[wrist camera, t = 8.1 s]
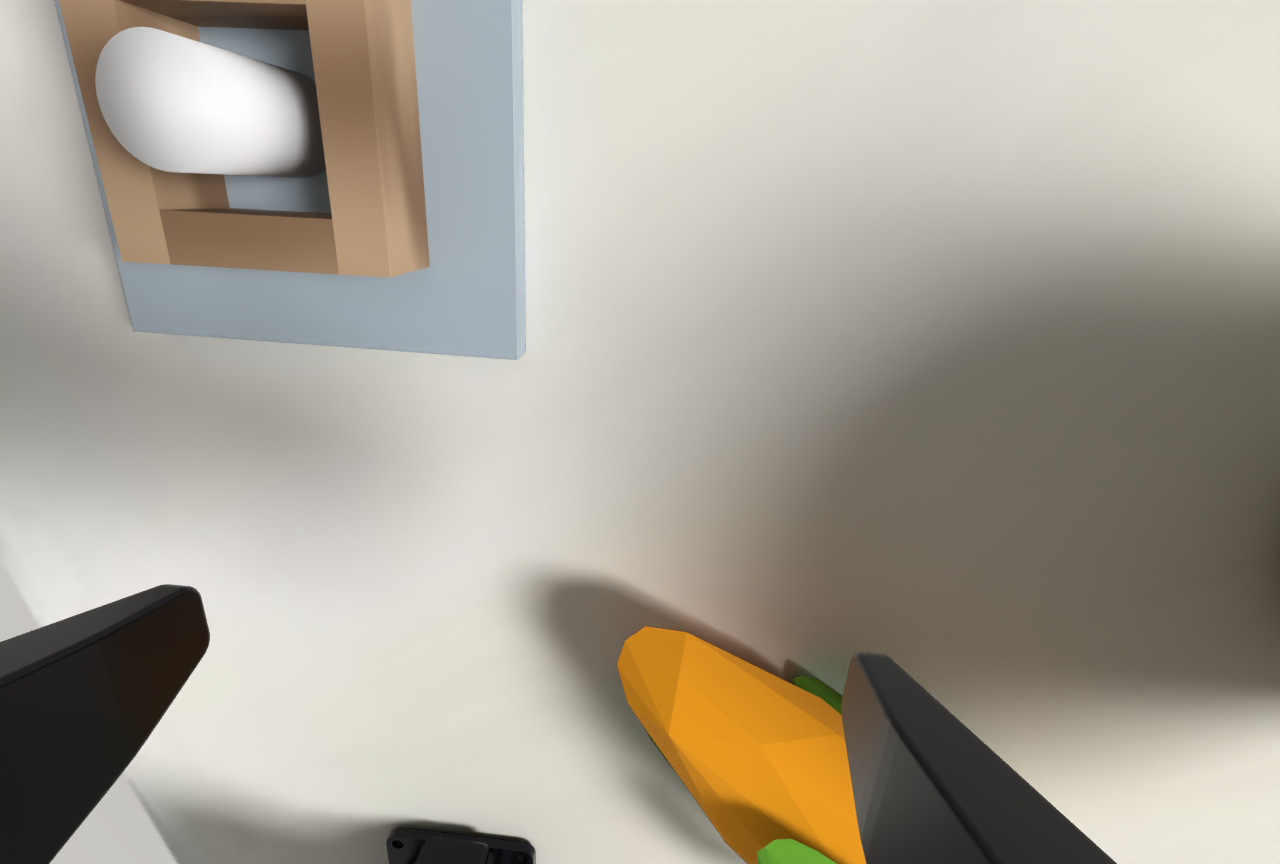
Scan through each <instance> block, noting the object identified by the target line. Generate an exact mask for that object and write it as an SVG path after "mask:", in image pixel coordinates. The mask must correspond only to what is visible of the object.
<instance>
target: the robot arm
mask: <svg viewBox="0 0 1280 864" xmlns="http://www.w3.org/2000/svg"><path fill="white" fill-rule="evenodd" d="M209 641H210V632H209V628H208V624H207V620H206V615H205V611H204V607H203V603H202V598H201V595H200V593H199V592H198V591H197V590H196V589H195V588H193V587H190V586H181V585H170V584H166V585H160V586H157V587H154V588H151V589H148V590H146V591H143V592H140V593H137V594H134V595H132V596H129V597H126V598H123V599H120V600H118V601H115V602H112V603H109V604H106V605H103V606H101V607H98V608H95V609H92V610H89V611H87V612H84V613H81V614H78V615H75V616H72V617H70V618H67V619H64V620H61V621H58V622H56V623H53V624H50V625H47V626H44V627H41V628H39V629H36V630H33V631H30V632H28V633H25V634H22V635H19V636H16V637H13V638H11V639H8V640H5V641H2V642H0V864H49V863H50V862H51V861H52V860H53V859H54V857H55V856H56V855H57V853H58V852H59V851H60V850H61V849H62V847H63V846H64V845H65V843H66V842H67V841H68V840H69V839H70V837H71V836H72V835H73V834H74V832H75V831H76V830H77V829H78V827H79V826H80V825H81V824H82V822H83V821H84V820H85V819H86V817H87V816H88V815H89V814H90V812H91V811H92V810H93V809H94V808H95V806H96V805H97V804H98V803H99V801H100V800H101V799H102V798H103V796H104V795H105V794H106V793H107V791H108V790H109V789H110V788H111V786H112V785H113V784H114V783H115V781H116V780H117V779H118V778H119V776H120V775H121V774H122V773H123V771H124V770H125V769H126V767H127V766H128V765H129V764H130V762H131V761H132V760H133V758H134V757H135V756H136V754H137V753H138V751H139V750H140V749H141V747H142V746H143V744H144V743H145V742H146V740H147V739H148V737H149V736H150V734H151V733H152V731H153V730H154V728H155V727H156V725H157V724H158V722H159V721H160V720H161V718H162V717H163V715H164V714H165V712H166V711H167V709H168V708H169V706H170V705H171V703H172V702H173V700H174V699H175V697H176V696H177V694H178V693H179V691H180V690H181V688H182V687H183V686H184V684H185V683H186V681H187V680H188V678H189V677H190V675H191V674H192V672H193V671H194V669H195V668H196V666H197V665H198V663H199V662H200V660H201V659H202V657H203V656H204V654H205V653H206V650H207V648H208V645H209ZM842 723H843V730H844V736H845V743H846V750H847V756H848V763H849V769H850V776H851V783H852V789H853V796H854V803H855V809H856V816H857V822H858V828H859V834H860V840H861V844H862V848H863V852H864V857H865V861H866V864H1117V863H1116V862H1115V861H1113V860H1112V859H1111V858H1110V857H1109V856H1108V855H1107V854H1106V853H1105V852H1104V851H1102V850H1101V849H1100V848H1099V847H1098V846H1097V845H1096V844H1095V843H1094V842H1093V841H1091V840H1090V839H1089V838H1088V837H1087V836H1086V835H1085V834H1084V833H1083V832H1081V831H1080V830H1079V829H1078V828H1077V827H1076V826H1075V825H1074V824H1073V823H1072V822H1070V821H1069V820H1068V819H1067V818H1066V817H1065V816H1064V815H1063V814H1062V813H1061V812H1059V811H1058V810H1057V809H1056V808H1055V807H1054V806H1053V805H1052V804H1051V803H1050V802H1048V801H1047V800H1046V799H1045V798H1044V797H1043V796H1042V795H1041V794H1040V793H1039V792H1037V791H1036V790H1035V789H1034V788H1033V787H1032V786H1031V785H1030V784H1029V783H1027V782H1026V781H1025V780H1024V779H1023V778H1022V777H1021V776H1020V775H1019V774H1018V773H1016V772H1015V771H1014V770H1013V769H1012V768H1011V767H1010V766H1009V765H1008V764H1007V763H1005V762H1004V761H1003V760H1002V759H1001V758H1000V757H999V756H998V755H997V754H996V753H994V752H993V751H992V750H991V749H990V748H989V747H988V746H987V745H986V744H985V743H983V742H982V741H981V740H980V739H979V738H978V737H977V736H976V735H975V734H973V733H972V732H971V731H970V730H969V729H968V728H967V727H966V726H965V725H964V724H962V723H961V722H960V721H959V720H958V719H957V718H956V717H955V716H954V715H953V714H951V713H950V712H949V711H948V710H947V709H946V708H945V707H944V706H943V705H942V704H940V703H939V702H938V701H937V700H936V699H935V698H934V697H933V696H932V695H931V694H929V693H928V692H927V691H926V690H925V689H924V688H923V687H922V686H921V685H920V684H918V683H917V682H916V681H915V680H914V679H913V678H912V677H911V676H910V675H908V674H907V673H906V672H905V671H904V670H903V669H902V668H901V667H900V666H899V665H897V664H896V663H895V662H894V661H893V660H892V659H891V658H889V657H888V656H886V655H883V654H874V653H864V652H858V653H856V654H854V655H853V657H852V659H851V662H850V666H849V671H848V676H847V680H846V685H845V689H844V694H843V699H842ZM387 850H388V858H389V864H536V852H535V849H534V847H533V846H532V845H530V844H528V843H523V842H515V841H507V840H498V839H490V838H482V837H473V836H465V835H457V834H448V833H440V832H432V831H423V830H415V829H407V828H395V829H393V830H392V831H391V833H390V835H389V837H388V839H387Z"/></svg>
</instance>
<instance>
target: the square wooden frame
mask: <svg viewBox="0 0 1280 864" xmlns="http://www.w3.org/2000/svg"><path fill="white" fill-rule="evenodd" d="M59 4H60V8H61V12H62V16H63V20H64V25H65V29H66V33H67V37H68V41H69V45H70V49H71V53H72V57H73V62H74V66H75V70H76V74H77V78H78V82H79V86H80V90H81V94H82V99H83V103H84V107H85V111H86V115H87V119H88V123H89V127H90V131H91V136H92V140H93V144H94V148H95V152H96V156H97V160H98V164H99V169H100V173H101V177H102V181H103V185H104V189H105V193H106V197H107V201H108V206H109V210H110V214H111V218H112V222H113V226H114V230H115V234H116V238H117V243H118V247H119V251H120V255H121V259H122V262H138V263H155V264H171V265H188V266H204V267H221V268H238V269H254V270H271V271H288V272H304V273H321V274H338V275H354V276H371V277H388V278H390V277H394V276H398V275H401V274H405V273H409V272H412V271H416V270H420V269H424V268H427V267H430V261H429V247H428V234H427V220H426V206H425V192H424V178H423V164H422V150H421V136H420V122H419V108H418V94H417V80H416V66H415V52H414V38H413V24H412V10H411V0H59ZM133 27H150V28H155V29H158V30H162V31H165V32H168V33H172V34H175V35H178V36H181V37H185V38H188V39H191V40H194V41H198V42H200V38H199V32H198V27H225V28H253V29H280V30H308V31H309V34H310V42H311V50H312V59H313V67H314V75H315V83H316V91H317V99H318V107H319V115H320V124H321V132H322V140H323V148H324V156H325V164H326V172H327V180H328V189H329V197H330V205H331V213H314V212H295V211H277V210H258V209H240V208H230V207H229V201H228V195H227V190H226V184H225V179H224V174H203V173H180V172H167V171H162V170H159V169H156V168H153V167H151V166H148V165H147V164H145V163H143V162H141V161H140V160H138V159H137V158H136V157H134V156H133V155H132V154H131V153H129V152H128V151H127V150H126V149H125V148H124V147H123V146H122V145H121V144H120V142H119V141H118V140H117V139H116V137H115V136H114V135H113V133H112V132H111V130H110V128H109V127H108V125H107V123H106V121H105V119H104V117H103V114H102V112H101V109H100V106H99V102H98V99H97V93H96V84H95V76H96V67H97V62H98V59H99V56H100V54H101V52H102V50H103V48H104V46H105V45H106V44H107V42H108V41H109V40H110V39H111V38H112V37H113V36H115V35H116V34H118V33H119V32H121V31H123V30H126V29H129V28H133Z"/></svg>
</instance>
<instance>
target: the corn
mask: <svg viewBox="0 0 1280 864" xmlns="http://www.w3.org/2000/svg"><path fill="white" fill-rule="evenodd" d="M617 668H618V671H619V675H620V678H621V682H622V685H623V689H624V692H625V696H626V699H627V703H628V705H629V706H630V708H631V709H632V711H633V712H634V713H635V715H636V716H637V718H638V719H639V720H640V722H641V723H642V725H643V727H644V728H645V730H646V732H647V733H648V735H649V737H650V738H651V740H652V741H653V743H654V744H655V745H656V747H657V748H658V749H659V751H660V752H661V753H662V755H663V756H664V757H665V759H666V760H667V761H668V763H669V764H670V765H671V766H672V768H673V769H674V770H675V772H676V773H677V774H678V776H679V777H680V779H681V780H682V781H683V783H684V784H685V786H686V787H687V788H688V790H689V791H690V793H691V794H692V796H693V797H694V798H695V800H696V801H697V803H698V804H699V805H700V807H701V808H702V810H703V811H704V813H705V814H706V815H707V817H708V818H709V820H710V821H711V822H712V824H713V825H714V827H715V828H716V830H717V831H718V832H719V834H720V835H721V837H722V838H723V839H724V841H725V842H726V843H727V844H728V845H729V846H730V847H731V848H732V849H733V850H734V851H735V852H736V853H737V854H738V855H739V856H740V857H741V858H742V859H743V860H744V861H745V862H746V863H747V864H866V861H865V857H864V852H863V848H862V844H861V840H860V834H859V828H858V822H857V816H856V809H855V803H854V796H853V789H852V783H851V776H850V769H849V763H848V756H847V750H846V743H845V736H844V730H843V723H842V699H843V696H842V695H840V694H839V693H838V692H836V691H835V690H833V689H832V688H830V687H829V686H827V685H825V684H824V683H822V682H821V681H819V680H818V679H815V678H812V677H808V676H805V675H802V676H800V677H797V678H794V685H793V684H791V683H789V682H787V681H785V680H783V679H781V678H779V677H777V676H775V675H773V674H771V673H769V672H767V671H765V670H763V669H761V668H759V667H756V666H754V665H752V664H750V663H748V662H746V661H744V660H742V659H740V658H738V657H736V656H734V655H732V654H730V653H728V652H726V651H724V650H722V649H720V648H718V647H716V646H714V645H712V644H710V643H708V642H706V641H704V640H702V639H700V638H698V637H696V636H693V635H691V634H689V633H687V632H682V631H675V630H668V629H661V628H654V627H647V626H645V627H644V628H642V629H641V630H640V631H638V632H637V633H635V634H634V635H632V636H631V637H629V638H628V639H626V640H625V642H624V645H623V648H622V651H621V654H620V656H619V659H618V662H617Z"/></svg>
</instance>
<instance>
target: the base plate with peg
mask: <svg viewBox="0 0 1280 864" xmlns="http://www.w3.org/2000/svg"><path fill="white" fill-rule="evenodd" d="M55 4H56V8H57V13H58V17H59V21H60V25H61V29H62V34H63V38H64V42H65V46H66V50H67V55H68V59H69V63H70V67H71V71H72V76H73V80H74V84H75V88H76V92H77V96H78V101H79V105H80V109H81V113H82V117H83V122H84V126H85V130H86V134H87V138H88V143H89V147H90V151H91V155H92V159H93V164H94V168H95V172H96V176H97V180H98V184H99V189H100V193H101V197H102V201H103V205H104V210H105V214H106V218H107V222H108V226H109V231H110V235H111V239H112V243H113V247H114V251H115V256H116V260H117V264H118V268H119V272H120V277H121V281H122V285H123V289H124V293H125V298H126V302H127V306H128V310H129V314H130V319H131V323H132V327H133V331H139V332H152V333H166V334H179V335H192V336H205V337H219V338H232V339H245V340H259V341H272V342H285V343H298V344H312V345H325V346H338V347H352V348H365V349H378V350H391V351H405V352H418V353H431V354H445V355H458V356H471V357H484V358H498V359H511V360H518V359H519V358H520V357H521V356H522V355H523V354H524V353H525V352H526V346H525V255H524V165H523V75H522V0H411V10H412V24H413V38H414V52H415V66H416V80H417V94H418V108H419V122H420V136H421V150H422V164H423V178H424V192H425V206H426V220H427V234H428V247H429V261H430V267H427V268H424V269H420V270H416V271H412V272H409V273H405V274H401V275H398V276H394V277H390V278H388V277H371V276H354V275H338V274H321V273H304V272H288V271H271V270H254V269H238V268H221V267H204V266H188V265H171V264H155V263H138V262H122V259H121V255H120V251H119V247H118V243H117V238H116V234H115V230H114V226H113V222H112V218H111V214H110V210H109V206H108V201H107V197H106V193H105V189H104V185H103V181H102V177H101V173H100V169H99V164H98V160H97V156H96V152H95V148H94V144H93V140H92V136H91V131H90V127H89V123H88V119H87V115H86V111H85V107H84V103H83V99H82V94H81V90H80V86H79V82H78V78H77V74H76V70H75V66H74V62H73V57H72V53H71V49H70V45H69V41H68V37H67V33H66V29H65V25H64V20H63V16H62V12H61V8H60V4H59V0H55ZM198 32H199V38H200V42H198V41H194V40H191V39H188V38H185V37H181V36H178V35H175V34H172V33H168V32H165V31H162V30H158V29H155V28H150V27H133V28H129V29H126V30H123V31H121V32H119V33H118V34H116V35H115V36H113V37H112V38H111V39H110V40H109V41H108V42H107V44H106V45H105V46H104V48H103V50H102V52H101V54H100V56H99V59H98V62H97V67H96V76H95V84H96V93H97V99H98V102H99V106H100V109H101V112H102V114H103V117H104V119H105V121H106V123H107V125H108V127H109V128H110V130H111V132H112V133H113V135H114V136H115V137H116V139H117V140H118V141H119V142H120V144H121V145H122V146H123V147H124V148H125V149H126V150H127V151H128V152H129V153H131V154H132V155H133V156H134V157H136V158H137V159H138V160H140V161H141V162H143V163H145V164H147V165H148V166H151V167H153V168H156V169H159V170H162V171H167V172H180V173H203V174H224V179H225V184H226V190H227V195H228V201H229V207H230V208H240V209H258V210H277V211H295V212H314V213H331V205H330V197H329V189H328V180H327V172H326V164H325V156H324V148H323V140H322V132H321V124H320V115H319V107H318V99H317V91H316V83H315V75H314V67H313V59H312V50H311V42H310V34H309V31H308V30H280V29H253V28H225V27H198Z"/></svg>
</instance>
